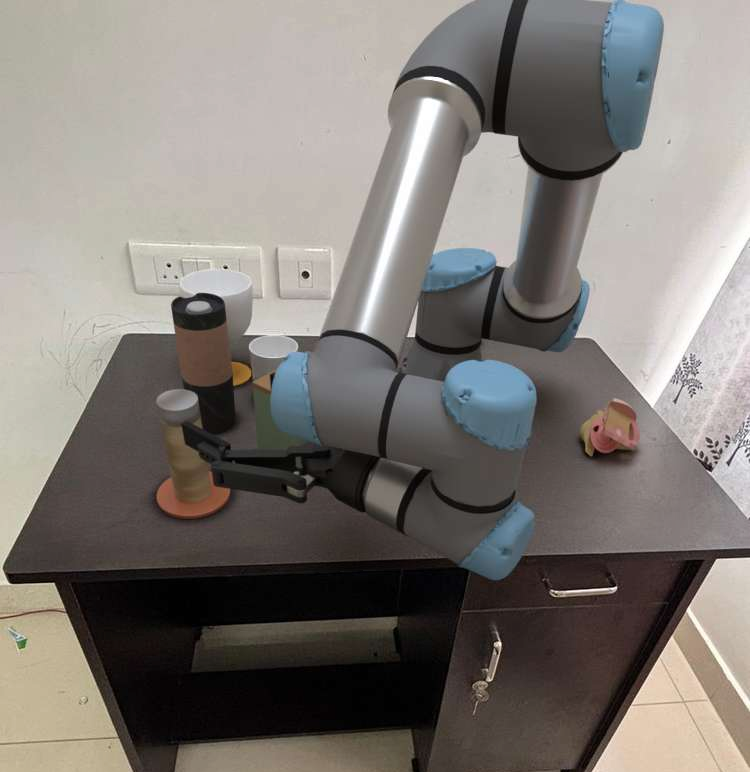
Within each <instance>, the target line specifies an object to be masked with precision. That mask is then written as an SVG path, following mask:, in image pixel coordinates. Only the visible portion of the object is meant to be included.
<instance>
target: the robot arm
mask: <svg viewBox="0 0 750 772" xmlns="http://www.w3.org/2000/svg"><path fill="white" fill-rule="evenodd" d="M664 31H665V23H664V18H663V16H662V15H661V12H660V11H659V10H658V9H657V8H655V7H653V6H650V5H644V4H638V3H637V4H636V3H631V2H627V1H626V0H613V1H612V2H610V1H599V0H472V1H470V2H468V3H466V4H465V5H463V6H462V7H460V8H459V9H457V10H455V11H454V12H452V13H451V14H449V15H447V17H446V18H444V19H443V20H442V21H441V22H440V23H439V24H437V25H436V26H435V27H434V28H433V29H432V30H431V31H430V32H429V33H428V35H426V36H425V38H424V39H422V41H421V42H420V44H419V45H418V46H417V47H416V49H415V50H414V51H413V53H412V54H411V55H410V57H409V59H408V60H407V62H406V63H405V65H404V66H403V68H402V70H401V72H400V73H399V75H398V78H397V80H396V83H395V86H394V89H393V91H392V94H391V96H390V99H389V102H388V105H387V106H388V107H387V108H388V109H387V119H388V120H387V121H388V124H389V127H390V131H389V135H388V137H387V140H386V143H385V145H384V149H383V152H382V154H381V157H380V161H379V164H378V166H377V169H376V172H375V175H374V178H373V180H372V182H371V186H370V189H369V191H368V195H367V197H366V201H365V204H364V207H363V210H362V213H361V215H360V218H359V220H358V224H357V227H356V229H355V233H354V234H353V235H354V236H353V238H352V241H351V244H350V247H349V250H348V253H347V256H346V258H345V262H344V264H343V267H342V270H341V273H340V276H339V279H338V282H337V285H336V287H335V291H334V293H333V296H332V299H331V302H330V304H329V308H328V311H327V314H326V317H325V320H324V323H323V325H322V327H321V331H320V334H319V336H318V342H317V344H316V346H315V348H314V350H313V351H312V352H313V353H310V352H311V351H310V352H309V351H304V352H302V351H298V352H292V353H289V354H288V355H287V356H286V357H285V359H284V360H283V363H281V364H280V365H279V366H278V368H277V371H276V373H275V372H273V373H272V374H270V385H271V398H270V407H271V414H272V418H273V421H274V422H275V424H276V425H277V427H278V428H279V430H281V431H282V432H284V433H286V434H289V435H292V436H295V437H298V438H301V439H304V440H308V442H306V443H304V444H303V445H302V446H290V447H289V448H288V449H287V450H258V449H232V448H231V443H230V442H227V441H226V440H224V439H222V438H220V437H218V436H216V435H214V433H209V432H207V431H205V430H203V429H201V428H200V427H198V426H196V425H194V424H192V423H190V422H188V421H185V422H183V423H182V424H181V425H182V430H183V436H184V442H185V445H187V446H189V447H191V448H193V449H194V450H196V451H198V453H199V457H200V458H201V459H203V460H205V461H206V462H207V463H208V464H210V469H211V470H210V471H211V472H212V477H213V484H214V485H215V486H216V487H222V488H228V489H230V490H237V491H241V492H249V493H254V494H255V493H257V494H261V495H269V496H275V497H282V498H285V499H288V500H290V501H292V502H294V503H297V504H305V503H306V502H307V500H308V493H309V492H310V491H311V490H312V489H313V488H314V487H320V488H325V489H327V490H328V491H329V492H330V493H331V495H332V496H333V497H334V498H335V499H336V500H337V501H339V502H341V503H342V504H345V505H346V506H348V507H350V508H351V509H353V510H356V511H357V512H360V513H362V514H363V513H366V514H367V516H368V517H370V518H372V519H373V520H375V521H378V522H379V523H381V524H383V525H385V526H387V527H388V528H390V529H392V530H394V531H396V532H397V533H400V534H402V535H404V536H406V537H408V538H410V539H412V540H413V541H415V542H417V543H419V544H421V545H422V546H424V547H425V548H428V549H430V550H431V551H433V552H435V553H437V554H439V555H441V556H442V557H444V558H446V559H448V560H449V561H451V562H452V563H455V564H457V566H458V567H459V568H461V569H462V568H463V569H465V570H468V571H470V572H473V573H475V574H477V575H480V576H481V577H484V578H486V579H488V580H492V581H500V580H503V579H504V578H506V577H507V576H509V575H510V573H512V572H513V570H515V567H517V565H518V563H519V562H520V560H521V558H522V557H523V555H524V554H525V551H526V549H527V547H528V545H529V543H530V541H531V538H532V535H533V532H534V529H535V526H536V523H535V521H536V516H535V514H534V512H533V511H532V510H531V509H530V508H528V507H526V506H525V505H523V504H522V503H521V501H518V500H517V501H515V497H516V488H517V484H518V480H519V476H520V472H521V469H522V465H523V461H524V458H525V454H526V451H527V447H528V445H529V442H530V439H531V435H532V426H533V421H534V417H535V410H536V406H537V390H536V387H535V385H534V383H533V381H532V379H531V378H530V377H529V376H528V375H527V374H526V373H525V372H524V371H522V370H521V369H519V368H518V367H516V366H514V365H513V364H509V363H507V362H504V361H500V360H495V359H485V360H483V358H482V351H481V345H482V340H486V341H487V340H489V341H493V342H499V343H504V344H509V345H514V346H519V347H524V348H530V349H535V350H539V351H540V352H554V353H562V352H564V351H566V350H568V349H569V347H570V346H571V345H572V343H573V342H574V340H575V338H576V336H577V333H578V331H579V327H580V325H581V323H582V321H583V318H584V315H585V312H586V309H587V305H588V301H589V297H590V284H589V282H588V281H586V280H584V279H582V275H581V272H580V270H579V268H578V264H579V261H580V257H581V253H582V250H583V246H584V243H585V239H586V236H587V232H588V229H589V225H590V221H591V217H592V215H593V212H594V211H593V210H594V207H595V204H596V200H597V196H598V192H599V190H600V186H601V182H602V178H603V176H604V175H603V174H605V173H607V171H609V170H610V169H611V168H613V167H614V166H615V165H616V164H617V163H618V161H619V160H620V159H621V157H622V155H623V153H627V152H629V151H636V150H637V149H639V148H640V146H641V145H642V142H643V139H644V136H645V132H646V127H647V122H648V118H649V115H650V109H651V105H652V98H653V93H654V88H655V83H656V78H657V75H658V74H657V73H658V68H659V64H660V58H661V52H662V45H663V39H664ZM482 133H483V134H484V133H485V134H486V133H492V134H495V135H504V136H510V137H517V147H518V152H519V155H520V157H521V159H522V161H523V162H524V163H525V165H526V167H527V173H526V178H525V179H526V181H525V189H524V196H523V204H522V212H521V220H520V226H519V227H520V228H519V235H518V242H517V243H518V244H517V250H516V258H515V260H514V261H512V263H511V264H510V265H509V267H507V266H501V265H497V263H498V261H497V258H496V255H495V254H493V253H492V252H491V251H486V250H485V249H481V248H474V247H457V248H449V249H446V250H441V251H438V252H436V253H434V252H435V248H436V245H437V242H438V239H439V236H440V232H441V229H442V226H443V222H444V219H445V216H446V213H447V209H448V207H449V203H450V200H451V198H452V194H453V190H454V187H455V184H456V181H457V177H458V174H459V173H460V168H461V165H462V161H463V158H464V157H465V156H467V155H469V154H470V153H472V151H473V150H475V147H476V146H477V144H478V143H479V141H480V138H481V135H482ZM416 309H417V310H416ZM415 313H416V321H415V332H414V339H413V342H412V344H411V347H410V349H409V350H408V353H407V356H406V357H405V358H404V359H403V361H402V364H401V365H402V367H401V369H400V372H397V369H398V366H399V363H400V361H401V358H402V354H403V351H404V348H405V345H406V341H407V339H408V335H409V332H410V328H411V325H412V322H413V318H414V316H415ZM296 457H300V458H301V465H302V467H303V468H297V467H296Z"/></svg>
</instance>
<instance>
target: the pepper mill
mask: <svg viewBox="0 0 750 772" xmlns="http://www.w3.org/2000/svg"><path fill="white" fill-rule="evenodd" d="M156 409H157V413H158V418H159V424H160V427H161V433H162V438H163V442H164V443H163V444H164V449H165V453H166V458H167V463H168V468H169V474H170V477H171V479H172V484H173V489H174V494H175V497H176V498H177V499H178V500H179V501H181V502H184V503H197V502H201V501H203V500H205V499H206V498H208V497H209V495H210V494H211V483H210V476H209V471H210V470H209V463H208V462H206V461H205V460H203V459H201V458H200V457H199V453H198V451H196V450H194V449H193V448H191V447H189V446H187V445H185V442H184V436H183V430H182V425H181V424H182V423H183V422H185V421H188V422H190V423H192V424H194V425H196V426H198V427H200V428H201V429H202V422H201V415H200V409H199V402H198V396H197V395H196V394H195V393H194V392H192V391H190V390H185V389H184V388H176V389H170V390H167V391H164V392H163V393H161V394H159V395H158V396H157V398H156Z"/></svg>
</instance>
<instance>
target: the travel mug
mask: <svg viewBox="0 0 750 772" xmlns="http://www.w3.org/2000/svg"><path fill="white" fill-rule="evenodd" d="M170 308H171V316H172V323H173V329H174V336H175V343H176V349H177V354H178V362H179V369H180V375H181V381H182V385H183V389H185V390H190V391H192V392H194V393H195V394H196V395H197V396H198V402H199V409H200V415H201V422H202V429H203V430H205V431H207V432H209V433H211V434H218V433H223V432H225V431H228V430H229V429H231V428H232V427H233V426H234V425H235V424H236V403H235V386H233V372H232V363H231V361H232V355H231V347H230V343H229V336H228V327H227V319H226V309H225V302H224V300H223V299H222V298H221V297H219V296H217V295H214V294H210V293H197V294H196V295H195V296H193V297H189V298H183V297H181V295H179V296H177V297H175V298H174V299H173V300H172V301H171V303H170Z"/></svg>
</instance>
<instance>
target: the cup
mask: <svg viewBox="0 0 750 772" xmlns="http://www.w3.org/2000/svg"><path fill="white" fill-rule="evenodd" d="M178 285H179V287H178V288H179V292H180V296H181V297H183V298H189V297H193V296H195V295H196V294H197V293H210V294H214V295H217V296H219V297H221V298H222V299H223V300H224V302H225V309H226V319H227V327H228V336H229V344H230V343H234V342H237V341H238V340H240V339H241V338H243V336H244V335H245V334H246V332H247V331H248V329H249V327H250V326H251V321H252V317H253V305H254V303H253V302H254V300H253V299H254V298H253V297H254V293H253V279H252V278H251V277H250V276H248V275H247V274H246V273H245V272H241V271H238V270H235V269H228V268H208V269H207V268H206V269H201V270H196V271H193V272H191V273H188V274H186V275H184V276H183V277H182V278H181V279H180V280H179V284H178ZM231 363H232V372H233V386H234V387H237V386H241V385H243V384H244V383H246V382H248V381H249V380H250V378H251V377H252V369H251V368H250V367H249V366H248V365H246V364H243V363H241V362H237V361H232V360H231Z"/></svg>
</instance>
